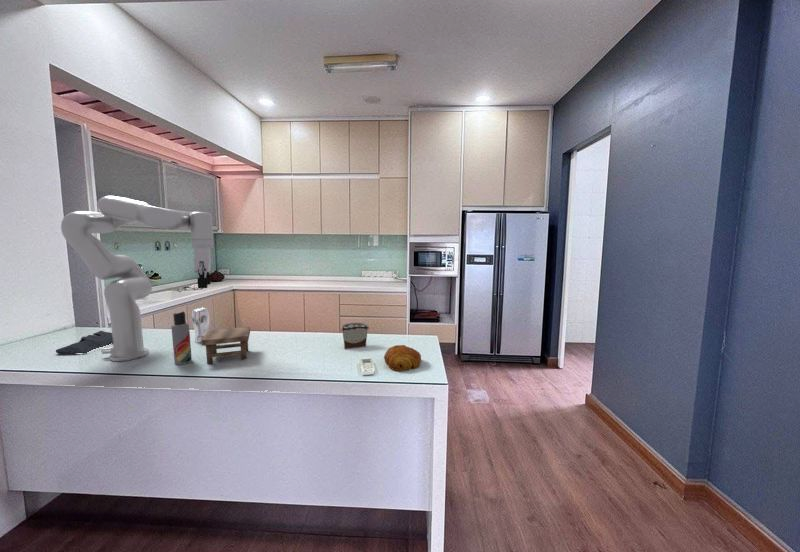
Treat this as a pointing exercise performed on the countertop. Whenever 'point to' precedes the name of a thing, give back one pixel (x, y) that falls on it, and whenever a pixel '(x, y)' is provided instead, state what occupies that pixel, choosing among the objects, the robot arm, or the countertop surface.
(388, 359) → the croissant
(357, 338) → the food container
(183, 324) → the lotion bottle
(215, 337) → the walnut stool
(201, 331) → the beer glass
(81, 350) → the dark slate chunk
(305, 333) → the countertop surface
